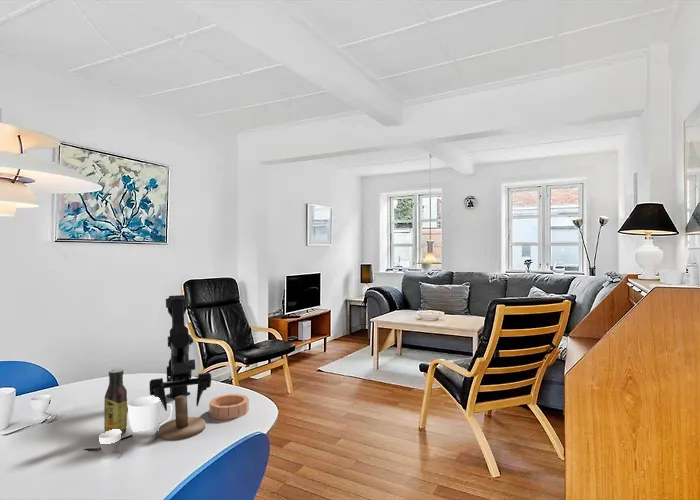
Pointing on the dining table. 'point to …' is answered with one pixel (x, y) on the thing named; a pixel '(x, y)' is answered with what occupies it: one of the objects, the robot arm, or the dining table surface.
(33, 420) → the dining table surface
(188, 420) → the walnut lid
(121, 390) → the sauce bottle
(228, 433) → the dining table surface
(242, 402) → the terracotta bowl
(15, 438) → the dining table surface
